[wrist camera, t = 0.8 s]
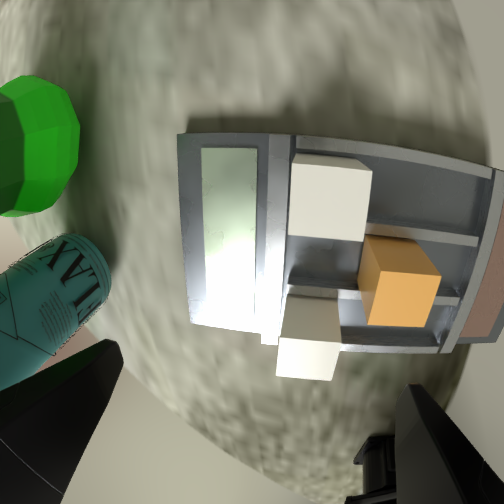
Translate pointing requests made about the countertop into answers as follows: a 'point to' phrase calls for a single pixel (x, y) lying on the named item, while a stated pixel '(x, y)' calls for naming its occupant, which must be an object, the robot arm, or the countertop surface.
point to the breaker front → (329, 197)
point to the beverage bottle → (47, 302)
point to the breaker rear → (309, 337)
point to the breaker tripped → (396, 282)
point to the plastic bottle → (35, 145)
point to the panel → (335, 250)
